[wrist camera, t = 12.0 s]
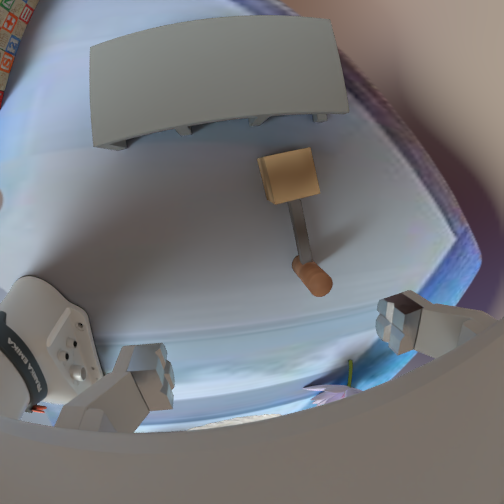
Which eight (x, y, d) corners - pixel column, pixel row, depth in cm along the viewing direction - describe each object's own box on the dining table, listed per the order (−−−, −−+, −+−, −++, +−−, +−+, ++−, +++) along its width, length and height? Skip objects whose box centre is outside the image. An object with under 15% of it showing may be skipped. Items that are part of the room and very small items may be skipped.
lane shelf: (322, 122, 30) (349, 112, 24) (117, 150, 28) (93, 146, 21) (308, 43, 27) (329, 19, 20) (111, 67, 25) (90, 47, 18)
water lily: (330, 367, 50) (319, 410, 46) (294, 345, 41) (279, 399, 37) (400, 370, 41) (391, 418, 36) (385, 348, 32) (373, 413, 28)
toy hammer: (321, 267, 36) (343, 289, 29) (285, 278, 36) (301, 303, 29) (297, 149, 31) (319, 145, 24) (256, 158, 31) (268, 155, 24)
